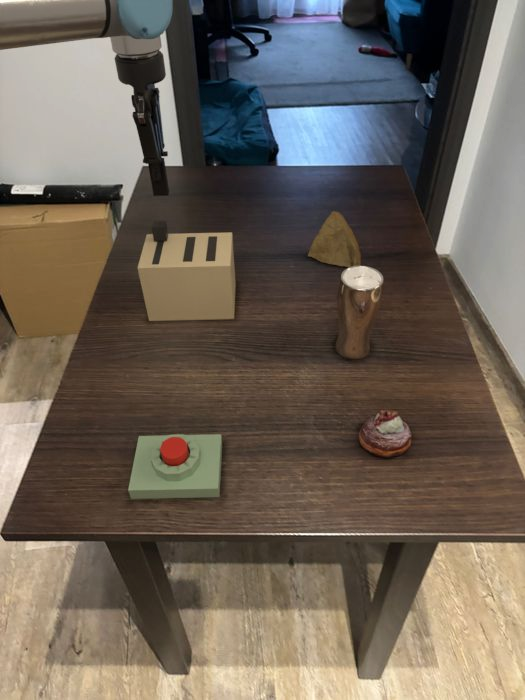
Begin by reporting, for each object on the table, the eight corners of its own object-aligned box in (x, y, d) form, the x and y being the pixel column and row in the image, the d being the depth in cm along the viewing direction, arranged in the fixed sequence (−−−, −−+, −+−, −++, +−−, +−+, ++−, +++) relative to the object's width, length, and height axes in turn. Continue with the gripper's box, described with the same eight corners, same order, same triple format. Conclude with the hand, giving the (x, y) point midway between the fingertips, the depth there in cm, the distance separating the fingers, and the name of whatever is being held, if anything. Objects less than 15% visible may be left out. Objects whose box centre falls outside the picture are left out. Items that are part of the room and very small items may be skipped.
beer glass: (329, 358, 90) (336, 287, 80) (335, 331, 95) (342, 262, 85) (370, 364, 89) (383, 293, 79) (374, 337, 94) (386, 267, 84)
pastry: (393, 413, 81) (399, 391, 78) (422, 450, 76) (429, 428, 73) (348, 429, 79) (351, 407, 76) (374, 468, 74) (379, 447, 71)
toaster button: (153, 241, 96) (151, 227, 94) (155, 235, 97) (152, 221, 95) (167, 241, 96) (164, 226, 94) (168, 235, 97) (166, 221, 95)
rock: (376, 255, 109) (351, 228, 114) (361, 235, 102) (335, 206, 108) (336, 290, 111) (313, 261, 117) (318, 272, 104) (295, 242, 110)
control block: (131, 499, 71) (125, 482, 69) (141, 445, 78) (136, 428, 75) (219, 497, 71) (217, 480, 68) (222, 443, 78) (220, 426, 75)
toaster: (148, 321, 99) (137, 267, 90) (156, 286, 107) (146, 233, 98) (234, 319, 98) (230, 265, 90) (235, 284, 107) (232, 231, 98)
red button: (160, 466, 71) (158, 458, 70) (163, 444, 73) (161, 436, 72) (187, 465, 71) (185, 458, 70) (189, 444, 73) (188, 436, 72)
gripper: (156, 63, 77) (178, 210, 93) (167, 40, 86) (184, 177, 102) (105, 65, 77) (135, 211, 93) (121, 42, 86) (146, 178, 102)
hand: (161, 193), depth 98 cm, fingers closed
